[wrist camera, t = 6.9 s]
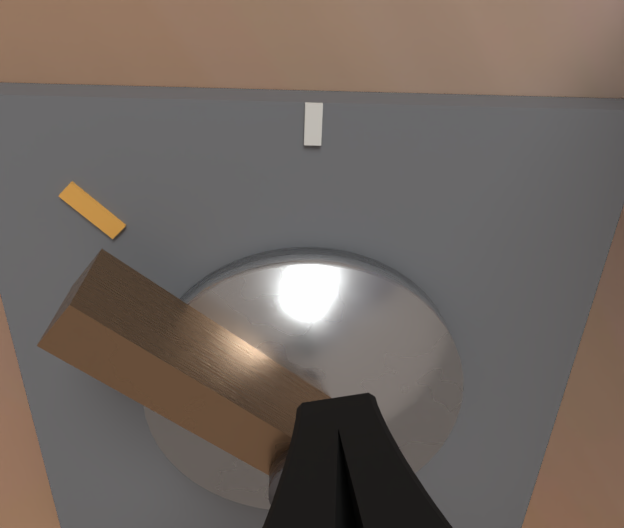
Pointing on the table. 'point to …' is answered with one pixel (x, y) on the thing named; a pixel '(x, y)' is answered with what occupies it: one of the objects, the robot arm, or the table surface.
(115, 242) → the dial panel
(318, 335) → the dial
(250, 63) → the table surface
